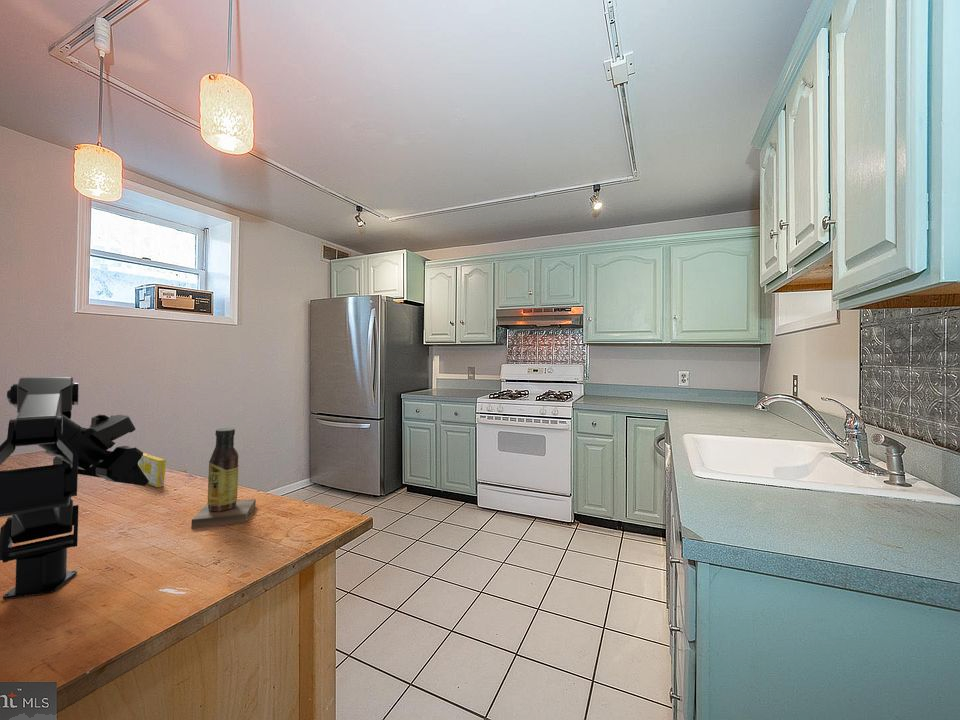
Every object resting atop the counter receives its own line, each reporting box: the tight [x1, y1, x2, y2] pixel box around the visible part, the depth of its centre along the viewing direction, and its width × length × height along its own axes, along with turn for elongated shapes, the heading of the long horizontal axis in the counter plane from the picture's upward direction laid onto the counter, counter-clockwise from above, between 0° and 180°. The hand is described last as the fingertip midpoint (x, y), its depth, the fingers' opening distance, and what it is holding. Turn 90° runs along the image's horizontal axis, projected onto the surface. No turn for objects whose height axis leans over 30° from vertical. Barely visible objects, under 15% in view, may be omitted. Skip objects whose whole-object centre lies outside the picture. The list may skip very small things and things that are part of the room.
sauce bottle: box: [207, 427, 239, 512], centre depth 97 cm, size 7×6×20 cm
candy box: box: [138, 452, 166, 488], centre depth 122 cm, size 16×2×8 cm, turn 58°
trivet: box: [191, 498, 257, 529], centre depth 97 cm, size 11×11×2 cm
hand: (132, 480), depth 81 cm, fingers open, 9 cm apart
